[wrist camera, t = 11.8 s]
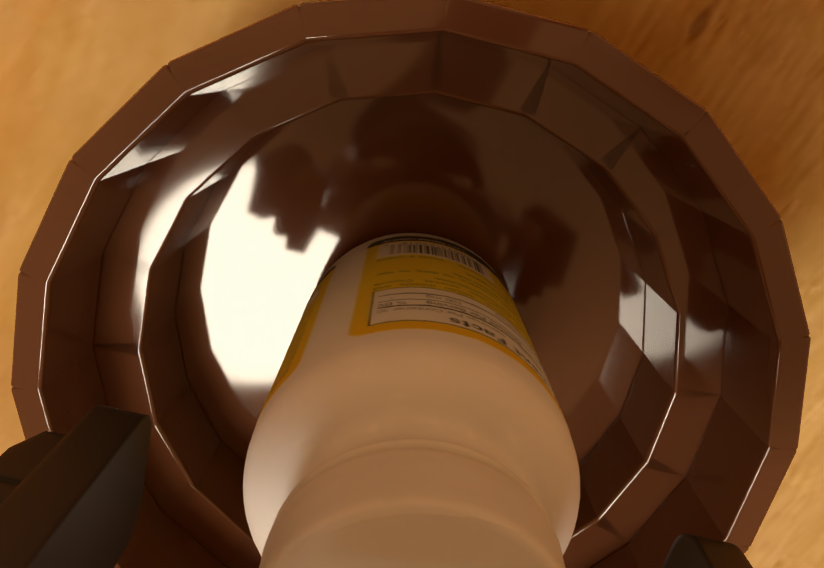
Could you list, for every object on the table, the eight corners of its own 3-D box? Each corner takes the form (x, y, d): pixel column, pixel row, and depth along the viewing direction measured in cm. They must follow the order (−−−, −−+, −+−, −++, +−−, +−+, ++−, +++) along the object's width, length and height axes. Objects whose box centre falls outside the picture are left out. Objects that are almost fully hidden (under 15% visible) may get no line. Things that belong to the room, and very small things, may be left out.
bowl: (161, -61, 15) (41, -118, 10) (795, 108, 16) (956, 126, 11) (96, 501, 20) (-7, 641, 15) (592, 604, 21) (644, 765, 16)
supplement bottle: (372, 455, 18) (326, 858, 9) (267, 290, 17) (80, 568, 8) (553, 370, 18) (707, 717, 8) (457, 188, 16) (513, 358, 7)
